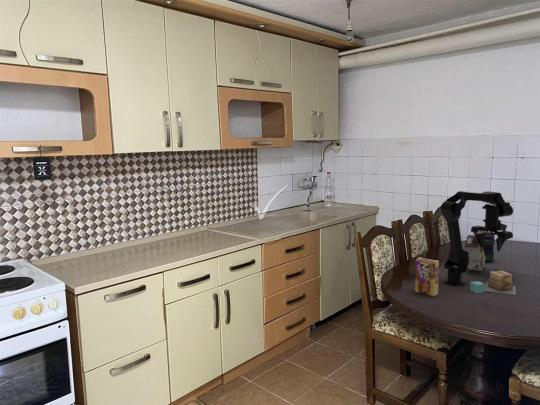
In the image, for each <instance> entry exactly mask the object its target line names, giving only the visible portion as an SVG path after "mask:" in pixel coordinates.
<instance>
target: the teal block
mask: <svg viewBox="0 0 540 405" xmlns="http://www.w3.org/2000/svg"><path fill="white" fill-rule="evenodd" d="M469 283H470V285H469V286H470V288H469V290H470V291H471V292H473V293H474V294H483V293H485V291H484V290H485V284H486V283H483V282H481V281H478V280H475V281H470V282H469Z"/></svg>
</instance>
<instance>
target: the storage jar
mask: <svg viewBox="0 0 540 405" xmlns="http://www.w3.org/2000/svg"><path fill="white" fill-rule="evenodd" d="M495 237H496V236H495V235H494V234H489V233H486V234H485V236H484V246H483V249H484V255H485V262H484V264H493V263H494V257H495V256H494V254H495V252H494V247H495V245H496V244H495V241H496V238H495Z"/></svg>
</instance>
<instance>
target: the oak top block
mask: <svg viewBox="0 0 540 405" xmlns="http://www.w3.org/2000/svg"><path fill="white" fill-rule="evenodd" d="M512 278H513V275H512V274H511V273H509V272H506V271H504V270H496V271H495V270H494V271H493V270H492V271H490V272H489V279H491V280H493V281H495V282H497V283H509V282H513V281H512Z"/></svg>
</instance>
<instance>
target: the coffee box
mask: <svg viewBox="0 0 540 405" xmlns="http://www.w3.org/2000/svg"><path fill="white" fill-rule="evenodd" d="M464 251H468V253H469V259H470V260H469V264H468V266H467V267H468V269H469V270H471V271H481V272H483V268H484V265H485V263H484V262H485V255H484V249H483V247H481V246H480V244H479V242H478V240H477V238H476V236H475V234H473V235H472V234H468V235H467V237H466V239H465V243H464Z"/></svg>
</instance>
